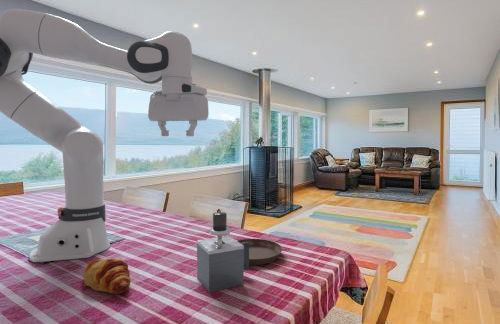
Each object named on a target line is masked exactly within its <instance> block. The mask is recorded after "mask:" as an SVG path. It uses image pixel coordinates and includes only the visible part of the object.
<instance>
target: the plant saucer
mask: <svg viewBox="0 0 500 324" xmlns="http://www.w3.org/2000/svg"><path fill="white" fill-rule="evenodd" d="M236 241H238V242H239V243H242V242H248V243H249V266H259V265H260V266H261V265H267V264H270V263H272V262H274V261H275V260H277V259H278V258H279V256H280V255H281V253H282V252H283V247H282V245H281V244H280V243H277V242H276V241H273V240H268V239H263V238H243V239H237V240H236Z"/></svg>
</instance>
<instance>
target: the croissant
mask: <svg viewBox="0 0 500 324" xmlns="http://www.w3.org/2000/svg"><path fill="white" fill-rule="evenodd" d="M130 274H131V273H130V270H129V265H128V263H127V262H126V261H124V259H122V258H116V257H115V258H114V257H111V258H97V259H94V260H92V261H90V262H89V263H88V264H87V265H86V267H85V268H84V271H83V277H84V278H83V279H84V280H83V281H84V282H83V284H84V286H87V287H90V288H91V289H92V290H94V291H96V292H97V291H98V292H103V293H104V292H105V293H108V294H116V295H117V294H118V295H119V294H123V293H125V292H126V291H128V290H129V289H130V285H131V277H130Z"/></svg>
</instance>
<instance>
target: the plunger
mask: <svg viewBox="0 0 500 324" xmlns="http://www.w3.org/2000/svg"><path fill="white" fill-rule="evenodd" d="M227 221H228V218H227V212H224V211H219V212H218V211H217V212H213V213H212V227H211V228H209V231H208V232H209V234H210V235H211V236H216V238H217V245H220V244H222V237H223V236H228V235H229V234H231V228H230V227H227Z"/></svg>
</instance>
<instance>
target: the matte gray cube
mask: <svg viewBox="0 0 500 324" xmlns="http://www.w3.org/2000/svg"><path fill="white" fill-rule="evenodd" d="M249 269H250V265H249V243H248V242H242V243H239V242H238V241H237V240H236V239H234V237H232V236H230V235H223V236H222V244H220V245H217V237H211V238H205V239H197V240H196V271H197V272H196V274H197V277H196V278H197V280H198V281H199V282H200V283H201V284H202V286H203V287H204V288H205V290H206V291H207V292H208V293H209V294H210V293H214V292H217V291H218V292H219V291H224V290H227V289H228V290H229V289H231V288H236V287H237V288H238V287H240V286H244V281H245V280H244V276H245V275H244V272H245V271H246V270H249Z"/></svg>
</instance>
